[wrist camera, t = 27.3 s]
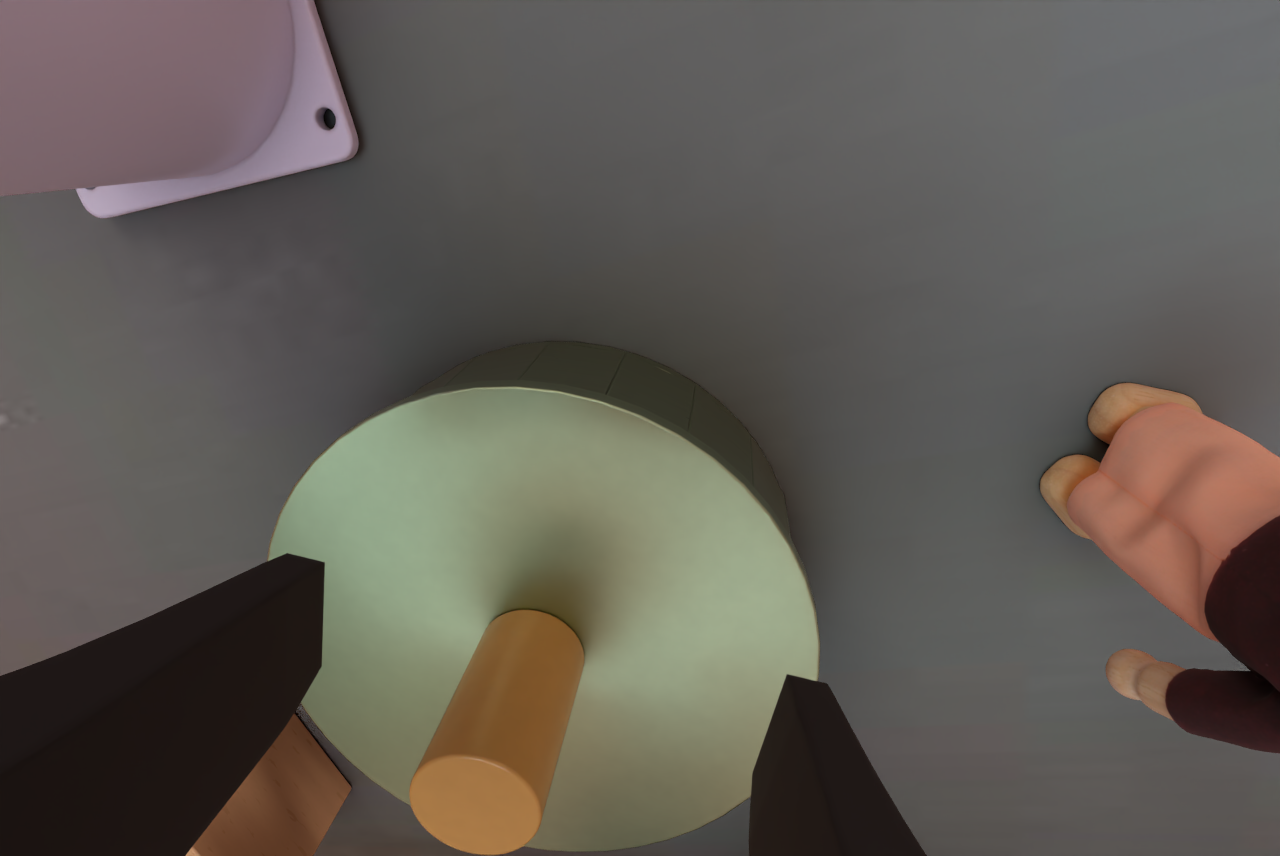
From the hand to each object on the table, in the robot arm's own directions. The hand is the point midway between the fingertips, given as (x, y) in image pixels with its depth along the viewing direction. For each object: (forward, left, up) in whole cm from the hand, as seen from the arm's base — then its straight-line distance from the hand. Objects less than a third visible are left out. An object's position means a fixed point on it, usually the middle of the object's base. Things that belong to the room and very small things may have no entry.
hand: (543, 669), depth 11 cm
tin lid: (+4, -3, -6) cm, 8 cm away
